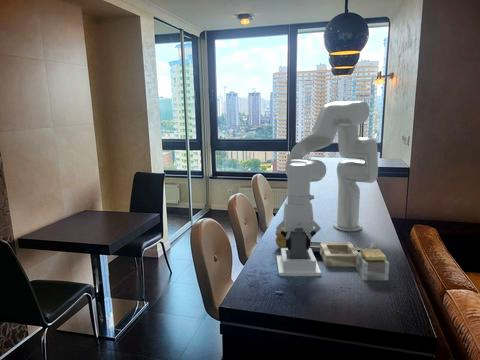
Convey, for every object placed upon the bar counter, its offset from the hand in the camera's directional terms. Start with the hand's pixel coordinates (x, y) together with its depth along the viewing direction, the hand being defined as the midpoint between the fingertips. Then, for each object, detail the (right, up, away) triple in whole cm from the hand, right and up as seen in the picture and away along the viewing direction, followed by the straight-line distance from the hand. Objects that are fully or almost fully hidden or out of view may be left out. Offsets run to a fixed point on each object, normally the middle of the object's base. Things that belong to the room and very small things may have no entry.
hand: (298, 248), depth 123 cm
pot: (0, -4, +17) cm, 17 cm away
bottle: (0, -5, +1) cm, 5 cm away
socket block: (+19, -6, +1) cm, 20 cm away
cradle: (0, -7, +1) cm, 7 cm away
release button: (+24, -6, -6) cm, 25 cm away
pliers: (+28, -4, +15) cm, 32 cm away
